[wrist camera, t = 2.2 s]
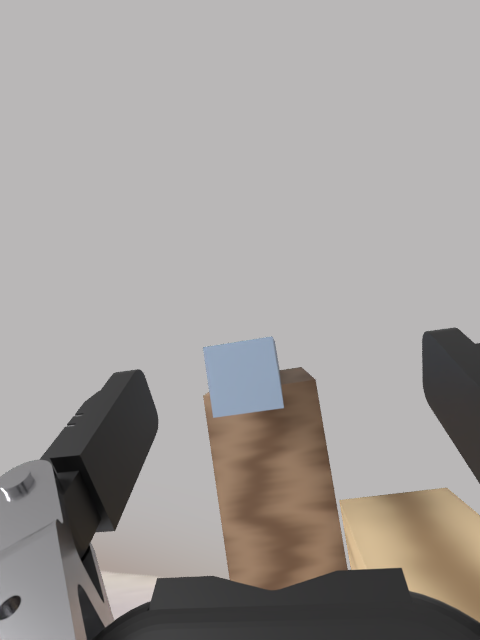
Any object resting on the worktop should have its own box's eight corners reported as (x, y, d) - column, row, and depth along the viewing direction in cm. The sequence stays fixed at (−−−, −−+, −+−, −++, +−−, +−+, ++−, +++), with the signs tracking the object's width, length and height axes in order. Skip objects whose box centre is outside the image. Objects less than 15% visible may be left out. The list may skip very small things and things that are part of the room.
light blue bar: (279, 370, 50) (274, 341, 50) (283, 408, 20) (272, 336, 21) (250, 374, 50) (246, 345, 51) (213, 417, 21) (202, 347, 21)
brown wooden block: (342, 615, 47) (301, 367, 50) (383, 779, 29) (315, 379, 32) (265, 621, 48) (228, 377, 51) (259, 785, 30) (203, 395, 33)
